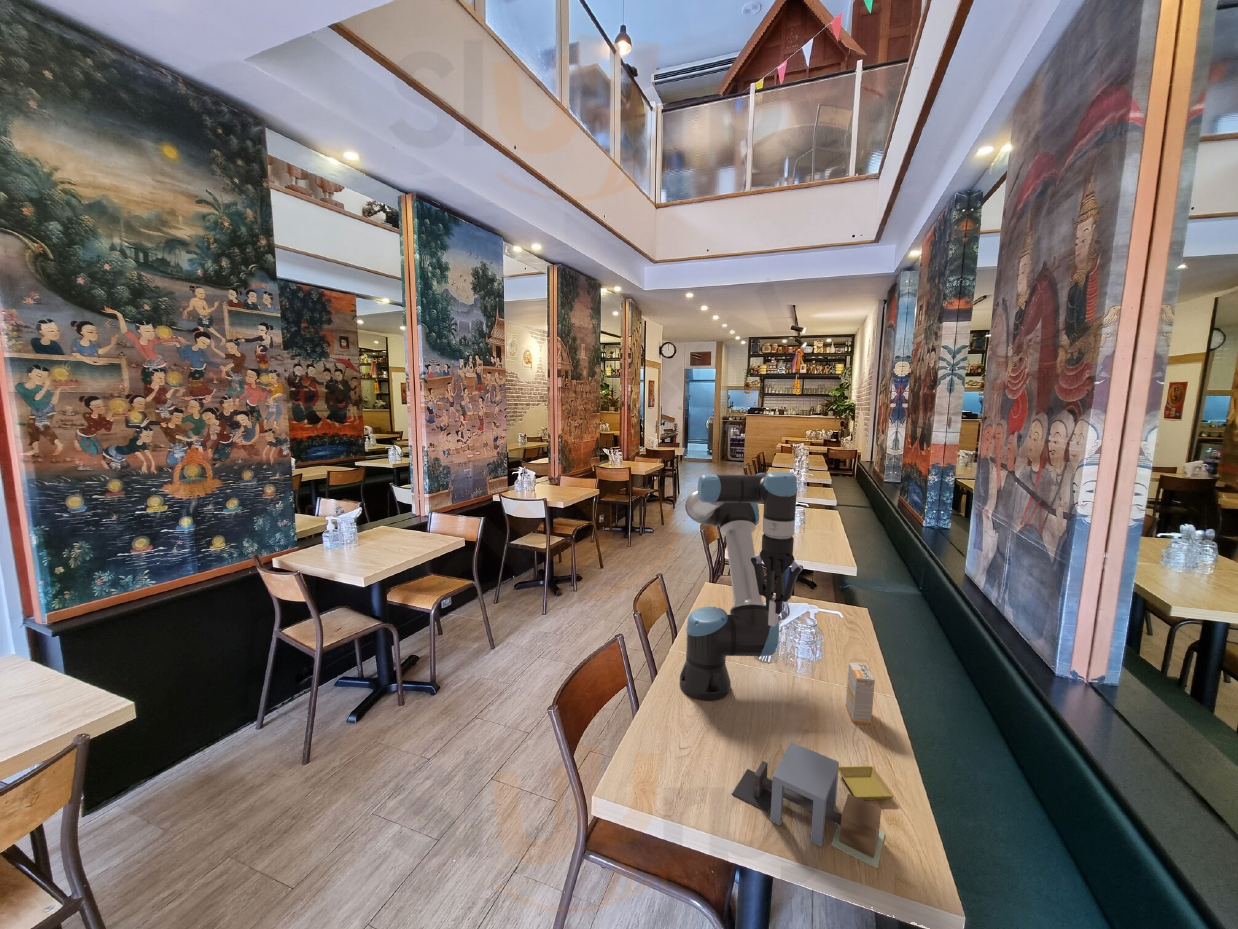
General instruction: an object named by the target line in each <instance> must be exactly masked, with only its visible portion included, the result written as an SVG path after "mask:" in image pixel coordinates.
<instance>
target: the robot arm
mask: <svg viewBox="0 0 1238 929" xmlns="http://www.w3.org/2000/svg"><path fill="white" fill-rule="evenodd" d="M797 495H798V479H797V476H796V475H795V474H793V473H788V472H781V471H773V472H767V473H766V472H759V473H756V474H715V473H711V474H702V475H700V476H699V477H698V481H697V491H695V492H692V493H691V494H690V495H689V496H688V497H687V499H686V500H685V503H684V504H685V505H684V506H685V507H684V508H685V512H686V515H687V516H688V517H689V518H690V519H691V520H693V521H694V522H696V523H698V524H701V525H703V526H704V525H705V526H709V527H710V526H713V527H715V526H716V527H719V528H720V530H719V531H720V533H721V534H722V535H724V536H725V542H726V549H727V556H728V565H729V573H730V580H731V590H732V596H733V606H732V607H731V608H730V609H729V611H730V612H729V614H728V613H727V611H726V610H725V609H723V608H721V607H717V606H704V607H699V608H697V609H694V610H693V611H691V613H689V615H688V617H687V623H686V624H687V625H686V628H685V630H686V654H685V657H686V658H685V662H684V664H683V667H682V670H681V671H680V675H679V688H680V689H681V690H682V691H683V693H684V694H686V695H687V696H688V697H691V698H692V699H696V700H699V701H706V702H707V701H708V702H711V701H713V702H714V701H715V702H716V701H719V700H723V699H724V698H727V696H729V694H730V693H731V687H732V686H731V683H732V682H731V678H730V675H729V671H728V667H727V664H726V661H727V660H726V658H727V657H758V658H761V657H770V656H773V655H775V653H776V651H777V649H778V645H779V639H780V626H779V615H780V614H781V613H782V611H783V603H787V602H788V601H789V600H790V599H791V597H792V595H793V592H794V589H795V586H796V583H797V580H798V577H799V575H800V573H801V572H802V571H803V569H804V566H803V565H799V564H798V563H797V562H796V561H795V557H794V555H793V554H794V540H795V539H794V537H793V536H794V535H795V527H796V526H795V524H796V507H797ZM759 504H762V505H763V514H762V516H763V518H762V520H763V521H762V533H763V534H761V551H760V552H759V554H757V555H756V553H755V551H756V550H755V547H754V545H755V544H754V541H753V534H752V533H753V532H755V530H756V526H758V524H759V522H760V509H759ZM763 564H764V567H765V573H764V568H763ZM790 567H791V568H790ZM789 568H790V570H791V573H790V575H789V579H788V581H787V584H786V588H785V580H786V579H785V576H786V571H787V570H788V569H789ZM765 574H766V576H765ZM775 576H776V579H775ZM765 577H766V578H765ZM775 580H776V584H775ZM774 592H775V593H774ZM763 597H764V598H765V603H764V602H763Z"/></svg>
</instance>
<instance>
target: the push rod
mask: <svg viewBox="0 0 1238 929" xmlns="http://www.w3.org/2000/svg"><path fill="white" fill-rule="evenodd" d="M768 764H769V762H767V761H764V760H762V761H761V763H760V764H759V766H758V768H757V769H756V771H754V772H755V774H754V792H753V796H755V797H757V798H759V797H760V795H761V793H762V792H763V790H764V789H766V790H768V791H770V792H772V781H771V780H772V779H771V780H768V779H769V778H768V768H769V767H768V766H769V765H768ZM767 778H768V779H767ZM784 800H787V801H789V802H791V803H794V805H795V804H796V805H797V806H800V807H802V808H803V809H806V810H808V811H809V812H812V813H813V800H811V799H809V798H807V797H805V796H802V795H800V794H798V793H796V792H794V791H792V790H790V789H788V788H786V787H784ZM881 814H882V808H881V807H879V806H878V805H874V803H873V804H872V803H871V802H868V801H867V800H862V799H859V798H857V797H855V796H854V795H853V794H850V793H847V796H846V799H845V801H844V806H843V809H842V812H839V811H836V810H835V809H834V810H832V809H830V808H828V807H826V812H825V820H829V821H831V822H833V823H835V824H837V825H838V824H839V825H841V830H840V842H842V843H844V844H846V845H848V846H850V847H852V848H854V849H856V850H858V851H860V852H862V853H864V854H866V855H868V856H870V857H872V858H874V855H875V851H876V846H877V842H878V837H879V831H880V825H881Z"/></svg>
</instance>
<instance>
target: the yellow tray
mask: <svg viewBox="0 0 1238 929" xmlns="http://www.w3.org/2000/svg"><path fill="white" fill-rule="evenodd" d="M838 774H840V776H841V777H842V778H843V781H844V782H845V783H846V785H847V787H848V789H849V790H850V792H851V793H852V795H853V796H855V797H857V798H859V799H862V800H864V801H870V800H872V801H875V800H876V801H877V800H890V799H892V798H893V797H894V793H893V792H892V790H891V789H890V788H889V786H888V785H887V784H886V782H885V781H884V779H883V778H882V777H881V775H880V774H879V772H878V771H877V770H876V768H875V767H874V766H871V765H865V766H864V765H863V766H862V765H861V766H855V765H853V766H839V770H838Z"/></svg>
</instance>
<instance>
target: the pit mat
mask: <svg viewBox="0 0 1238 929" xmlns="http://www.w3.org/2000/svg"><path fill="white" fill-rule="evenodd" d="M755 772H756V771H754V770H751V769H749V768H747V769H746V771H745V772H744V774H743V775H742V776H741V779H740V780H739V782H738V783H737V784H736V787H735V788H734V790H733V791H732V793H731V795H732V796H734V797H735V798H739V799H740V800H741V801H744V802H746V803H747V804H749V805H752V806H754V807H756V808H758V809H760V810H761V811H763V812H766V813H767V814H768V813H769V812H770V811H771V798H772V792H770V791H768V790H766V789H764V790H763V792H762V793H761V795H760V797H759V798H757V797H755V796H753V792H754V774H755ZM767 779H768V780H771V781H772V780H773V779H770V778H769V777H767Z"/></svg>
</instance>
